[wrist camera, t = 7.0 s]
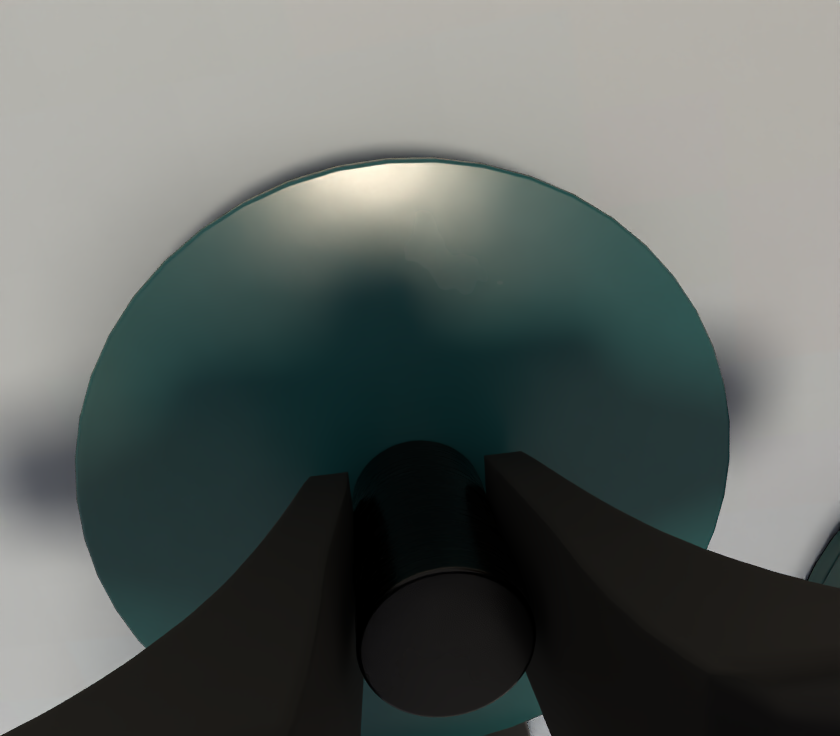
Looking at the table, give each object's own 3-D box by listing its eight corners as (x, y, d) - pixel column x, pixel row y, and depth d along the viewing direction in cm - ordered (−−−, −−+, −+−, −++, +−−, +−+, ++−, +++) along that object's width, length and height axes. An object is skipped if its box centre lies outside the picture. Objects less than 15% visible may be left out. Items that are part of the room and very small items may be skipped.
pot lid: (687, 666, 15) (830, 889, 11) (166, 742, 14) (87, 1017, 10) (718, 126, 11) (956, 125, 7) (21, 188, 11) (-207, 231, 6)
